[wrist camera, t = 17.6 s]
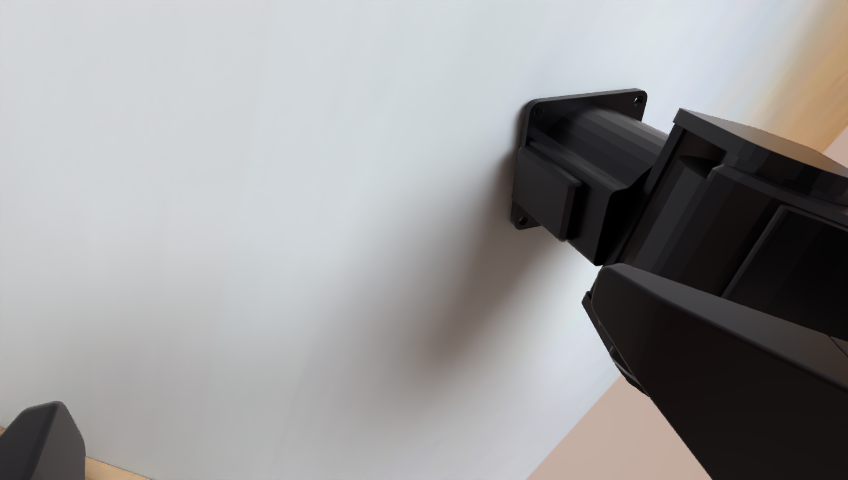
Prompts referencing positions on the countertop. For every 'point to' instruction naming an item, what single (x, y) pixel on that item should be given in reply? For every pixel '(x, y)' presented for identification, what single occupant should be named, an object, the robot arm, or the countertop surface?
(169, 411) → the countertop surface
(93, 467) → the pine board
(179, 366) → the countertop surface
